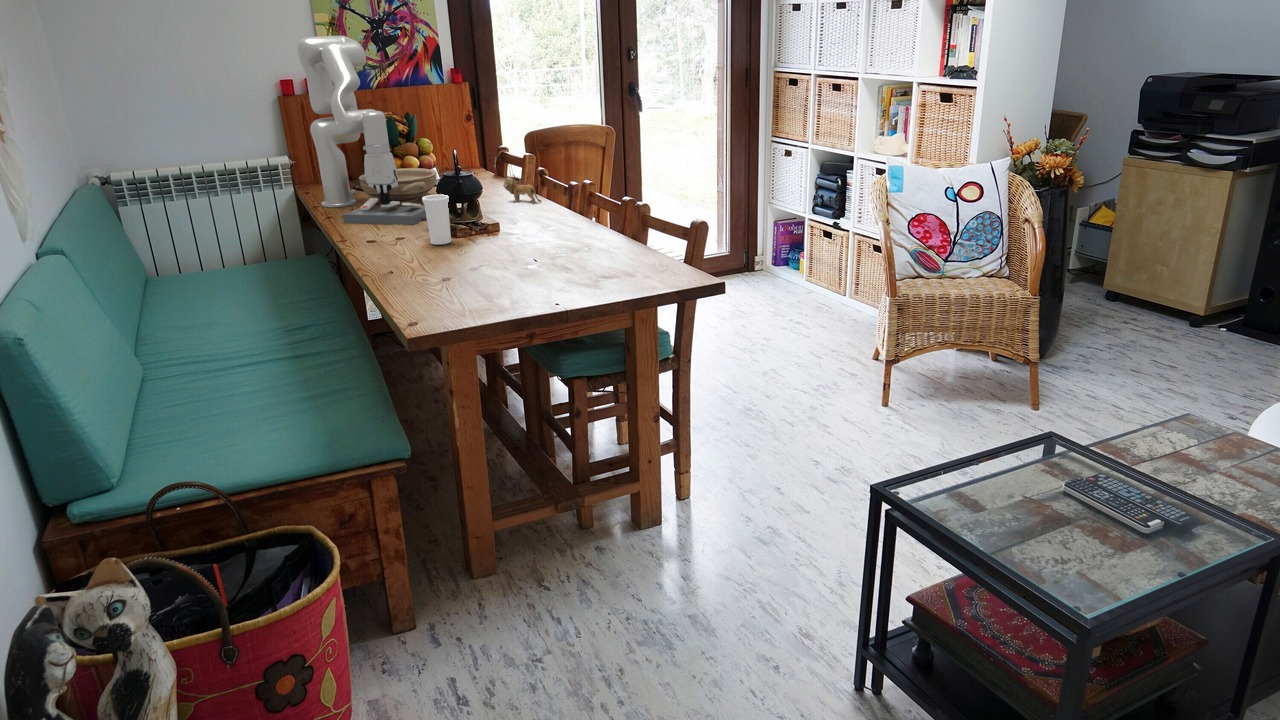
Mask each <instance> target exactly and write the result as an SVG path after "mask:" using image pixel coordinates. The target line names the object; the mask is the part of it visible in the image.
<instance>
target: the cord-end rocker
mask: <svg viewBox="0 0 1280 720" xmlns="http://www.w3.org/2000/svg"><path fill="white" fill-rule="evenodd" d="M401 206H404V207H422V204H421V203H415V202H412V203H402V204H401Z"/></svg>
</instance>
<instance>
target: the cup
mask: <svg viewBox="0 0 1280 720" xmlns="http://www.w3.org/2000/svg"><path fill="white" fill-rule="evenodd" d="M421 200H422V203H423V205H424V207H425V211H426V217H427V221H426V222H427V228H428V234H429V241H430V244H431V245H438V246H439V245H446V244H450V243H451V242H452V237H451V236H452V235H451V225H450V223H451V221H450V214H449V208H448V202H449V196H448V195H444V194H441V193H440V194H429V195H425V196H422V198H421Z"/></svg>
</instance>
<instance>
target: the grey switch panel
mask: <svg viewBox="0 0 1280 720" xmlns="http://www.w3.org/2000/svg"><path fill="white" fill-rule="evenodd" d="M342 217H343V224H360V225H361V224H362V225H363V224H366V225H367V224H368V225H392V224H399V225H400V224H404V225H403V226H414V225H416V224H418V222H419V223H421V222H423V221H422V220H427V217H426V211H425V206H421V207H419V206H391V207H381V205H375V206H374V205H373V206H372V207H371V208H370V209H369V210H361V209H360V207H358V208H355V209H353V210H351V211H348V212H345V213H343V214H342ZM420 221H421V222H420ZM415 223H416V224H415ZM406 224H407V225H406ZM413 224H414V225H413ZM399 225H398V226H399ZM400 226H401V225H400Z"/></svg>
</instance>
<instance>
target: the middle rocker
mask: <svg viewBox="0 0 1280 720" xmlns="http://www.w3.org/2000/svg"><path fill="white" fill-rule="evenodd" d="M397 205H401V204H400V202H395V201H392V202H390V204H387V205H382V204H381V203H380V206H381V207H395V206H397Z"/></svg>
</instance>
